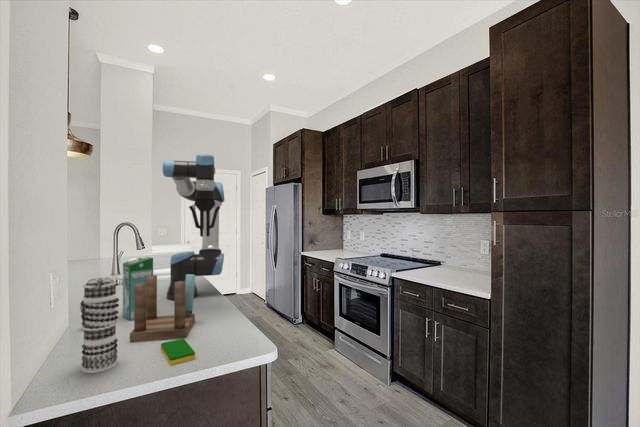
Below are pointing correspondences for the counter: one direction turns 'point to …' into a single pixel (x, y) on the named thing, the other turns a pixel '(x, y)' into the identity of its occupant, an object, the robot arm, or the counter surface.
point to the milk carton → (134, 281)
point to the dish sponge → (177, 351)
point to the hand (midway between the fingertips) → (204, 243)
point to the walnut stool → (159, 326)
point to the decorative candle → (99, 325)
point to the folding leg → (189, 291)
